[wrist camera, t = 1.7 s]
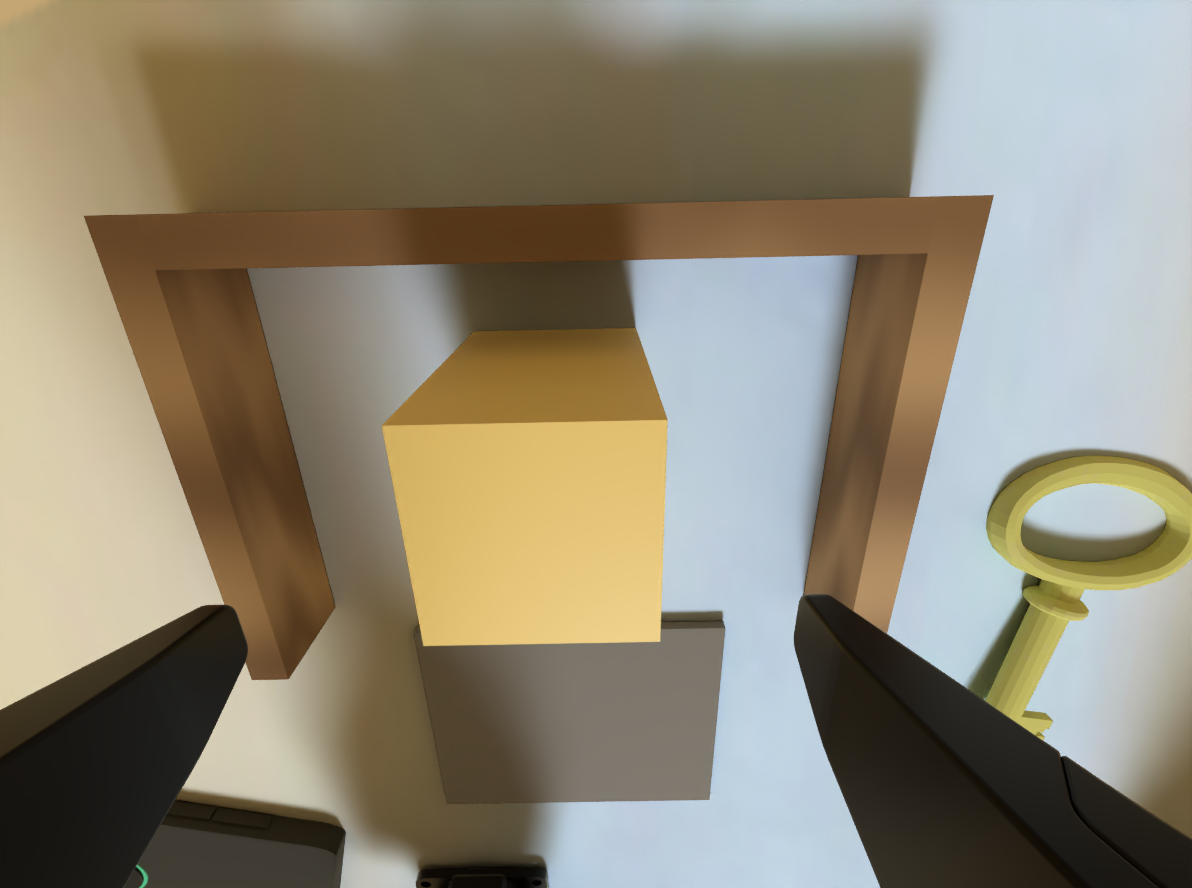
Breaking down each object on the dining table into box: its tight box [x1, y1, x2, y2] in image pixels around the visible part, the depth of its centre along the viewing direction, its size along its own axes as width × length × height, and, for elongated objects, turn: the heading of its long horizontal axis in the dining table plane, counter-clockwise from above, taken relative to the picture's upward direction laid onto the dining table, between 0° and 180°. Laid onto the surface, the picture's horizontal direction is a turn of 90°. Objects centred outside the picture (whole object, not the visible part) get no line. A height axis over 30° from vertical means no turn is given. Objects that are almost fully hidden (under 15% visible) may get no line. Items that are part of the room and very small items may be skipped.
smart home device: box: [124, 800, 346, 888], centre depth 27 cm, size 8×2×20 cm
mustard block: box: [382, 328, 668, 646], centre depth 14 cm, size 5×5×8 cm
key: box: [985, 456, 1192, 740], centre depth 20 cm, size 7×12×2 cm, turn 9°
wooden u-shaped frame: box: [84, 195, 994, 680], centre depth 17 cm, size 14×20×4 cm
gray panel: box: [414, 621, 725, 804], centre depth 23 cm, size 10×12×1 cm
